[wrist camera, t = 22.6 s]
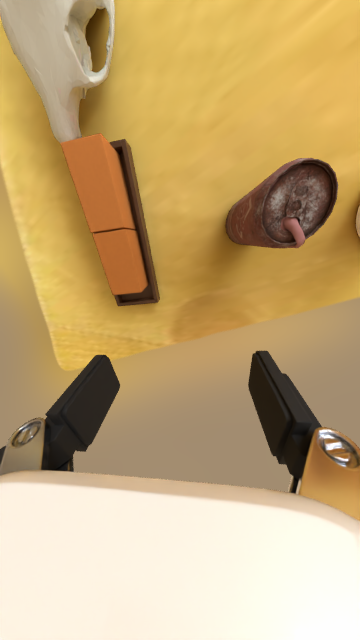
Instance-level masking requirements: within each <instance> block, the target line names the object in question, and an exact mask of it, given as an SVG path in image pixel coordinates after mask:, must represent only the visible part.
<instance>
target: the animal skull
mask: <svg viewBox="0 0 360 640" xmlns="http://www.w3.org/2000/svg"><path fill="white" fill-rule="evenodd" d="M97 8H98V9H100V10H101V9H104V8H106V10H107V12H108V15H109V23H110V26H109V37H108V41H107V44H106V48H107V57H106V62H105V66H104V67H103V68H102V69H101V70H100V71H99V72H97V73H95V72H92V68H93V67H92V60H91V52H90V47H89V46H88V45H87V41H86V38H85V34H86V26H87V24H88V22H89V19H90V18H91V17H92V16H93V15H94V13H95V12H96V9H97ZM114 15H115V7H114V0H0V16H1V20H2V24H3V27H4V30H5V33H6V35H7V37H8V40H9V42H10V44H11V47H12V49H13V52H14V54H15V55H16V56H17V58H18V59H19V61H20V63H21V64H22V66H23V67H24V69H25V71H26V73H27V74H28V76H29V78H30V80H31V81H32V83H33V85H34V87H35V89H36V91H37V92H38V94H39V96H40V97H41V99H42V102H43V104H44V107H45V110H46V113H47V115H48V119H49V122H50V126H51V129H52V132H53V135H54V137H55V138H56V139H57V140H58V141H59V142H60V143H62V142H66V141H70V140H74V139H78V138H82V135H81V131H80V128H79V105H80V100H81V99H82V98H84V99H85V98H86V91H87V90H88V89H89V88H91V87H96V86H98V85H99V84H101V83H102V82H103V81H105V80H106V78H107V76H108V74H109V69H110V64H111V58H112V51H113V42H114Z"/></svg>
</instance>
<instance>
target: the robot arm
mask: <svg viewBox="0 0 360 640" xmlns="http://www.w3.org/2000/svg"><path fill="white" fill-rule="evenodd" d="M356 229H357V233H358V235H359V237H360V205H359V208H358V212H357V217H356ZM248 385H249V391H250V394H251V396H252V399H253V402H254V405H255V408H256V410H257V414H258V416H259V419H260V422H261V425H262V428H263V431H264V433H265V436H266V439H267V442H268V445H269V448H270V451H271V453H272V455H273V456H276V457H277V460H278V462H279V464H286V465H287V467H288V470H289V472H290V474H291V475H292V478H291V481H290V485H289V488H288V492H283V491H277V490H271V489H262V488H252V487H244V486H234V485H223V484H213V483H200V482H190V481H179V480H167V479H155V478H143V477H132V476H120V475H107V474H94V473H81V472H74V468H73V454H74V452H75V450H77V451H86V450H87V448H88V446H89V445H90V444H91V443H92V442H93V440H94V438H95V436H96V434H97V432H98V430H99V428H100V426H101V424H102V422H103V420H104V418H105V416H106V414H107V412H108V410H109V408H110V406H111V404H112V402H113V401H114V399H115V396H116V394H117V393H118V391H119V388H120V384H119V381H118V379H117V376H116V374H115V372H114V369H113V367H112V364H111V362H110V359H109V358H108V357H107V356H106V355H96V356H95V357H94V358H93V359H92V360H91V361H90V362H89V364H88V365H87V366H86V367H85V368H84V370H83V371H82V372H81V373H80V374H79V375H78V377H77V378H76V379H75V380H74V381H73V382H72V384H71V385H70V386H69V387H68V388H67V389H66V391H65V392H64V393H63V394H62V395H61V397H60V398H59V399H58V400H57V401H56V402H55V404H54V405H53V406H52V407H51V408H50V409H49V411H48V412H47V413H46V416H47V418H46V419H45V420H44V419H43V418H35V419H32V420H30V421H28V422H26V423H25V424H23V425H22V426H21V427H19V428H18V429H17V430H16V431H15V432H14V433H13V434H12V436H11V437H10V438H9V440H8V442H7V445H6V446H4V447H3V448H1V449H0V640H360V449H359V447H357V445H356V444H355V443H354V442H353V441H352V440H350V439H349V438H348V437H347V436H345V435H344V434H342V433H340V432H338V431H336V430H334V429H331V428H326V427H322V426H321V425H320V423H319V422H318V421H317V419H316V417H315V416H314V414H313V413H312V411H311V410H310V408H309V407H308V405H307V404H306V402H305V401H304V399H303V398H302V396H301V395H300V393H299V392H298V390H297V389H296V387H295V386H294V384H293V383H292V381H291V380H290V378H289V377H288V376H287V375H286V374H282V373H281V371H280V370H279V368H278V367H277V365H276V363H275V362H274V360H273V359H272V357H271V355H270V354H269V352H268V351H256V353H254V354H253V356H252V362H251V369H250V377H249V384H248Z"/></svg>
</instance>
